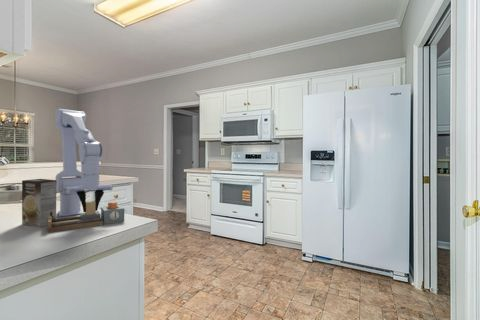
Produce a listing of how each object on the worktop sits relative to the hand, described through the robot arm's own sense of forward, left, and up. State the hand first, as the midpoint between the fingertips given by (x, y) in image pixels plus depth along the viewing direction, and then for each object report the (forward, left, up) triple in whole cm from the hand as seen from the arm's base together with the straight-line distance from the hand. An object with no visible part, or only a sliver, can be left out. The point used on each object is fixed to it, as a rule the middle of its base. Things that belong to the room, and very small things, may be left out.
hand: (90, 210), depth 92 cm
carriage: (0, 0, -3) cm, 3 cm away
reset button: (0, +7, -2) cm, 8 cm away
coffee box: (-10, -15, -5) cm, 19 cm away
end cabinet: (0, +8, -5) cm, 9 cm away
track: (0, -4, -5) cm, 7 cm away
